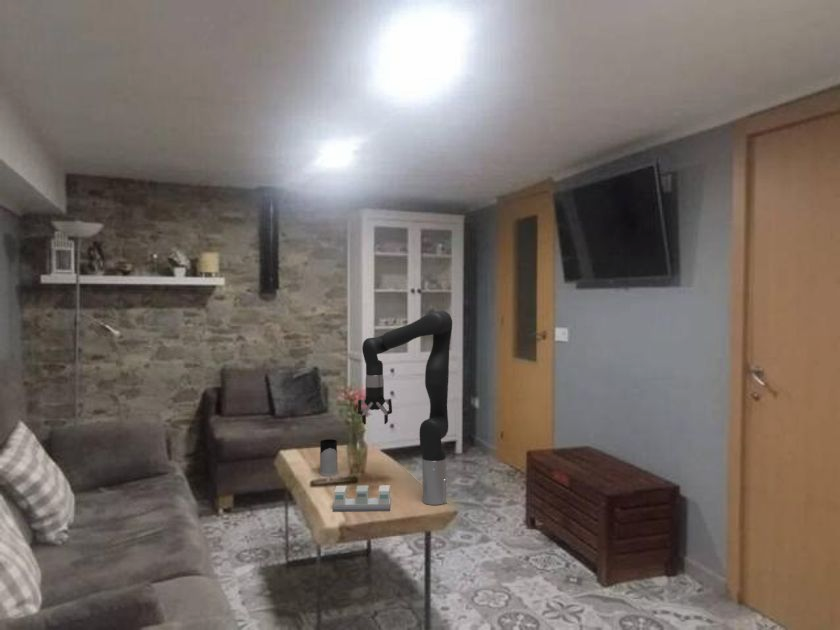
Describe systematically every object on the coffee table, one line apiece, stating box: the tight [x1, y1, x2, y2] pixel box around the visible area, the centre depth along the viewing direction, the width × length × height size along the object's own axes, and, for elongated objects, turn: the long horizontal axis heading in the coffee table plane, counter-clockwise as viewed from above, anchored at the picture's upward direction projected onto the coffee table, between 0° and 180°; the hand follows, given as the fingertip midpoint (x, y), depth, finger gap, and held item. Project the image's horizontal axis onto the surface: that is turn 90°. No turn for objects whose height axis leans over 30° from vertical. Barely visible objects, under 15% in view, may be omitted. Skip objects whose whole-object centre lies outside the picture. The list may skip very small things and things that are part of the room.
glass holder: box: [318, 438, 339, 477], centre depth 277 cm, size 9×14×15 cm, turn 16°
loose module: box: [355, 485, 370, 504], centre depth 231 cm, size 4×7×5 cm, turn 1°
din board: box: [332, 484, 392, 513], centre depth 231 cm, size 22×12×7 cm, turn 91°
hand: (375, 424), depth 249 cm, fingers open, 8 cm apart
